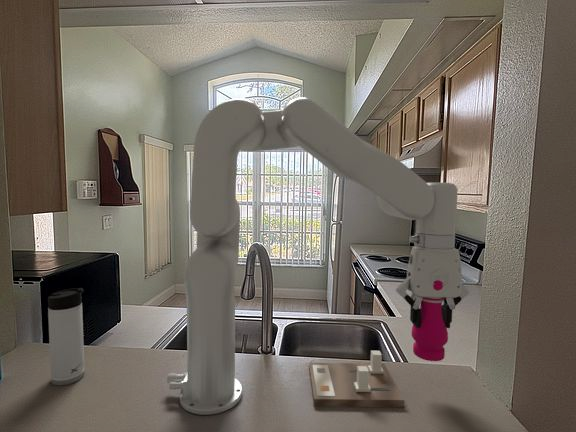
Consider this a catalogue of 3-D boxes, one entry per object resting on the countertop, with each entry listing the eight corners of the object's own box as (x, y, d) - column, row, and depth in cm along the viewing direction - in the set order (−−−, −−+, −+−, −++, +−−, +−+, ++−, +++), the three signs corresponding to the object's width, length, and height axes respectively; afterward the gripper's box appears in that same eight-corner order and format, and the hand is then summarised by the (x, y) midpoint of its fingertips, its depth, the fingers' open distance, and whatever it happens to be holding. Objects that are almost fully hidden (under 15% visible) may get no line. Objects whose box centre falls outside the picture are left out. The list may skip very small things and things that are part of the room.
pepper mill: (425, 364, 69) (429, 267, 67) (403, 348, 76) (407, 260, 74) (454, 360, 71) (460, 265, 69) (431, 345, 78) (435, 258, 76)
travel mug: (83, 382, 75) (80, 293, 73) (47, 388, 72) (43, 296, 70) (88, 368, 80) (85, 285, 79) (55, 373, 78) (51, 287, 76)
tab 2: (370, 373, 77) (371, 355, 77) (367, 367, 80) (368, 350, 79) (383, 373, 77) (384, 355, 77) (380, 367, 80) (381, 350, 79)
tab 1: (356, 391, 70) (357, 371, 70) (353, 384, 73) (354, 365, 72) (370, 391, 70) (371, 371, 70) (367, 385, 73) (368, 365, 72)
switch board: (314, 406, 68) (314, 398, 68) (309, 368, 82) (309, 362, 82) (404, 407, 68) (404, 399, 68) (383, 369, 82) (384, 363, 82)
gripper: (399, 244, 68) (396, 332, 69) (486, 245, 68) (480, 333, 69) (388, 238, 75) (385, 318, 77) (466, 239, 75) (461, 319, 77)
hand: (430, 324), depth 73 cm, fingers closed on pepper mill, 5 cm apart
